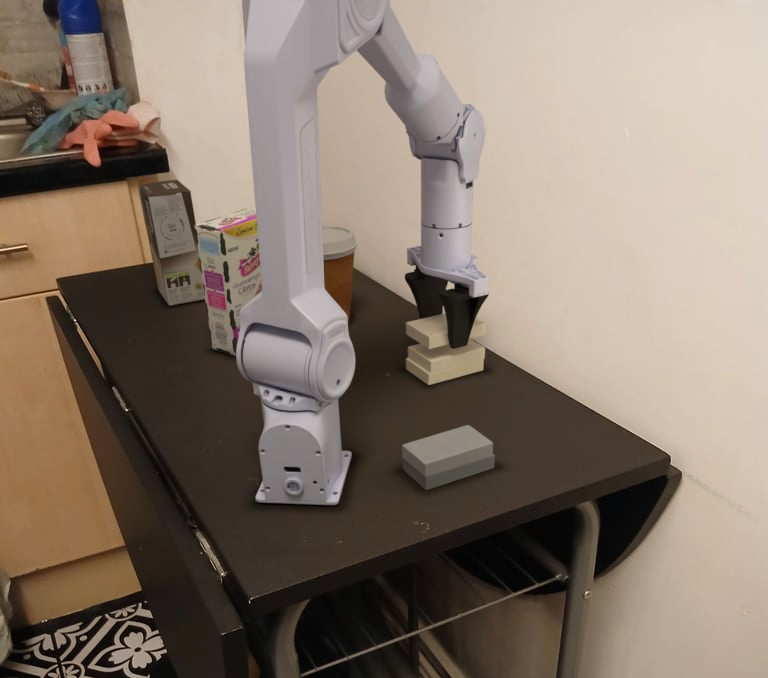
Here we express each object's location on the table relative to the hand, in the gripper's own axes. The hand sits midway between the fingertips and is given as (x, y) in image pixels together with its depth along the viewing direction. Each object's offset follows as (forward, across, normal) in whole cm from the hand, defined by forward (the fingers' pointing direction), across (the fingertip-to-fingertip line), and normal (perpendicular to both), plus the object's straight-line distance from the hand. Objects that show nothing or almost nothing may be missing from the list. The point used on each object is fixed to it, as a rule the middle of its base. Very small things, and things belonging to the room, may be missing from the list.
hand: (444, 337), depth 96 cm
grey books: (+4, -20, +12) cm, 24 cm away
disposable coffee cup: (+4, +24, +5) cm, 25 cm away
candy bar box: (+4, +22, +17) cm, 28 cm away
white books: (+4, 0, 0) cm, 4 cm away
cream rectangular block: (0, 0, 0) cm, 0 cm away
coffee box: (+4, +46, +20) cm, 50 cm away
